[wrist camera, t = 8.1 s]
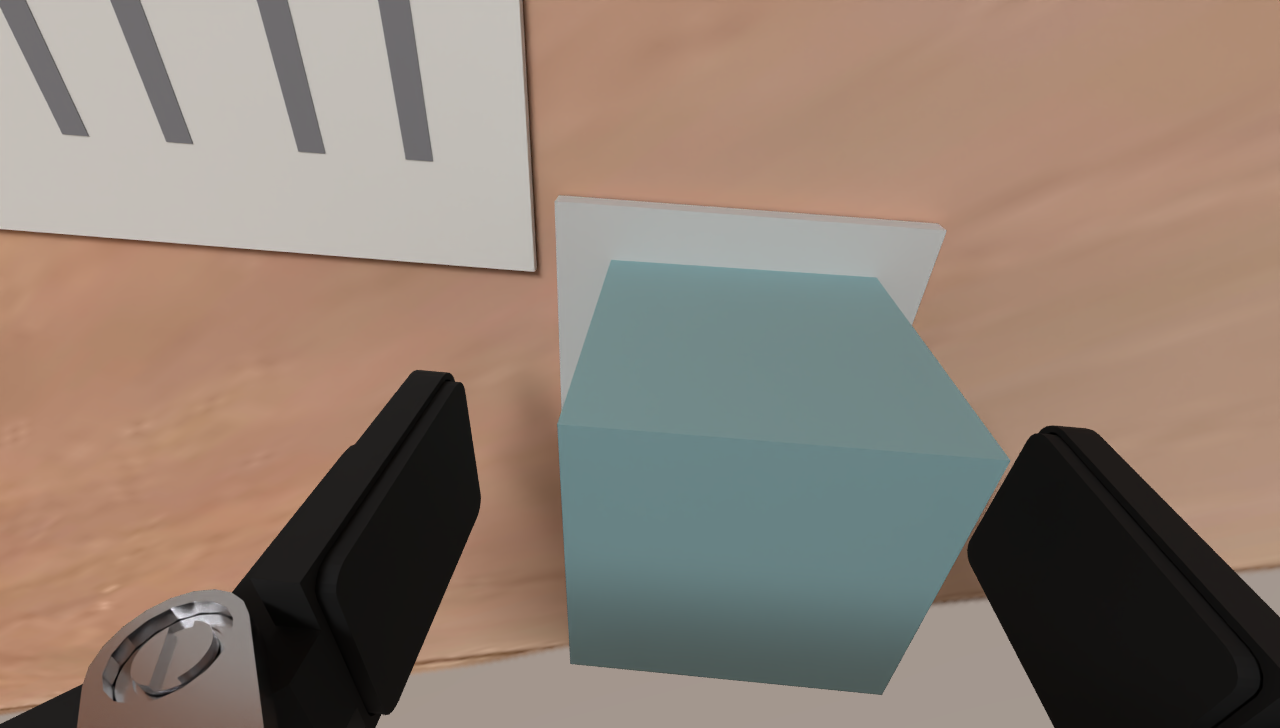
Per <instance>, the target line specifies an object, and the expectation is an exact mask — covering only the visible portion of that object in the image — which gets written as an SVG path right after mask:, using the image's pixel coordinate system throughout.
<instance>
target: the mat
mask: <svg viewBox="0 0 1280 728" xmlns="http://www.w3.org/2000/svg"><path fill="white" fill-rule="evenodd" d="M555 225H556V256H557V286H558V317H559V348H560V378H561V409H562V408H563V405H564V402H565V399H566V396H567V393H568V390H569V387H570V384H571V381H572V378H573V375H574V372H575V369H576V366H577V363H578V359H579V356H580V353H581V350H582V347H583V344H584V341H585V338H586V335H587V332H588V329H589V326H590V323H591V320H592V317H593V314H594V311H595V307H596V304H597V301H598V298H599V295H600V292H601V289H602V286H603V283H604V280H605V277H606V274H607V271H608V268H609V265H610V262H611V260H621V261H636V262H651V263H666V264H681V265H697V266H712V267H727V268H742V269H757V270H772V271H787V272H802V273H817V274H832V275H847V276H862V277H877V279H878V280H879V281H880V283H881V284H882V286H883V287H884V288H885V290H886V291H887V292H888V294H889V295H890V296H891V298H892V299H893V301H894V302H895V303H896V305H897V306H898V307H899V309H900V310H901V312H902V313H903V314H904V316H905V317H906V318H907V320H908V321H909V323H910V324H911V325H912V324H913V321H914V318H915V315H916V313H917V310H918V307H919V305H920V302H921V299H922V296H923V294H924V291H925V288H926V286H927V283H928V280H929V277H930V275H931V272H932V269H933V267H934V264H935V261H936V258H937V256H938V253H939V250H940V248H941V245H942V242H943V239H944V237H945V234H946V230H945V229H944V228H943V227H942V226H940V225H939V224H937V223H924V222H910V221H897V220H884V219H870V218H857V217H844V216H830V215H817V214H803V213H790V212H777V211H763V210H750V209H737V208H723V207H710V206H697V205H683V204H670V203H656V202H643V201H630V200H616V199H603V198H590V197H576V196H563V195H559V196H558V197H557V199H556V200H555Z"/></svg>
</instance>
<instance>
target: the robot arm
mask: <svg viewBox="0 0 1280 728" xmlns="http://www.w3.org/2000/svg"><path fill="white" fill-rule="evenodd" d="M480 503H481V494H480V487H479V481H478V474H477V467H476V461H475V454H474V447H473V441H472V434H471V427H470V421H469V414H468V407H467V401H466V394H465V389H464V386H463V384H462V383H461V382H455V380H454V377H453V376H452V374H450V373H446V372H435V371H423V370H416V371H413V372H412V373H411V374H410V375H409V377H408V378H407V379H406V380H405V382H404V383H403V384H402V385H401V387H400V388H399V389H398V391H397V392H396V393H395V394H394V396H393V397H392V398H391V399H390V401H389V402H388V403H387V404H386V406H385V407H384V408H383V410H382V411H381V412H380V413H379V415H378V416H377V417H376V418H375V420H374V421H373V422H372V423H371V425H370V426H369V427H368V429H367V430H366V431H365V432H364V434H363V435H362V436H361V437H360V439H359V440H358V441H357V442H356V444H355V445H352V446H350V447H349V448H348V449H347V450H346V451H345V452H344V453H343V454H342V456H341V457H340V458H339V459H338V461H337V462H336V463H335V464H334V466H333V467H332V468H331V469H330V471H329V472H328V473H327V474H326V476H325V477H324V478H323V479H322V481H321V482H320V483H319V484H318V486H317V487H316V488H315V489H314V491H313V492H312V493H311V494H310V496H309V497H308V498H307V499H306V501H305V502H304V503H303V504H302V506H301V507H300V508H299V509H298V511H297V512H296V513H295V514H294V516H293V517H292V518H291V519H290V521H289V522H288V523H287V524H286V526H285V527H284V528H283V529H282V531H281V532H280V533H279V534H278V536H277V537H276V538H275V539H274V541H273V542H272V543H271V544H270V546H269V547H268V548H267V549H266V551H265V552H264V553H263V554H262V556H261V557H260V558H259V559H258V561H257V562H256V563H255V564H254V566H253V567H252V568H251V569H250V571H249V572H248V573H247V574H246V576H245V577H244V578H243V579H242V581H241V582H240V583H239V584H238V586H237V587H236V588H235V589H234V591H233V592H232V593H231V592H226V591H221V590H215V589H214V590H203V591H193V592H190V593H187V594H184V595H180V596H177V597H174V598H170V599H168V600H166V601H164V602H162V603H160V604H158V605H156V606H154V607H152V608H150V609H148V610H146V611H145V612H143V613H142V614H141V615H139V616H138V617H136V618H135V619H133V620H132V621H131V622H129V623H128V624H126V625H125V626H123V627H122V628H121V629H120V630H119V631H118V632H117V633H116V634H115V635H114V636H113V637H112V638H111V639H110V640H109V641H108V642H107V643H106V644H105V645H104V646H103V647H102V648H101V650H100V651H99V653H98V654H97V656H96V657H95V659H94V660H93V661H92V663H91V664H90V666H89V667H88V670H87V673H86V676H85V679H84V682H83V684H82V685H80V686H78V687H76V688H74V689H71V690H69V691H67V692H65V693H63V694H61V695H59V696H57V697H55V698H53V699H51V700H49V701H47V702H45V703H43V704H41V705H39V706H37V707H34V708H32V709H30V710H28V711H26V712H24V713H22V714H20V715H18V716H16V717H14V718H12V719H10V720H8V721H6V722H4V723H2V724H0V728H375V727H376V725H377V723H378V720H379V718H380V716H381V714H383V715H388V714H390V713H391V712H392V711H393V710H394V708H395V707H396V705H397V703H398V701H399V699H400V696H401V694H402V692H403V689H404V687H405V685H406V682H407V680H408V678H409V675H410V673H411V671H412V668H413V666H414V664H415V661H416V659H417V657H418V654H419V652H420V650H421V647H422V645H423V643H424V640H425V638H426V636H427V633H428V631H429V629H430V626H431V624H432V622H433V619H434V617H435V615H436V612H437V610H438V607H439V605H440V603H441V600H442V598H443V596H444V593H445V591H446V589H447V586H448V584H449V582H450V579H451V577H452V575H453V572H454V570H455V568H456V565H457V563H458V561H459V558H460V556H461V554H462V551H463V549H464V547H465V544H466V542H467V540H468V537H469V535H470V533H471V530H472V528H473V526H474V523H475V521H476V519H477V516H478V513H479V509H480ZM967 551H968V559H969V563H970V565H971V567H972V569H973V571H974V573H975V575H976V577H977V579H978V581H979V583H980V585H981V586H982V588H983V590H984V592H985V594H986V596H987V598H988V600H989V602H990V604H991V606H992V608H993V610H994V612H995V613H996V615H997V617H998V619H999V621H1000V623H1001V625H1002V627H1003V629H1004V631H1005V633H1006V634H1007V636H1008V639H1009V641H1010V643H1011V644H1012V646H1013V648H1014V650H1015V652H1016V654H1017V656H1018V658H1019V660H1020V662H1021V664H1022V666H1023V668H1024V670H1025V672H1026V673H1027V675H1028V677H1029V679H1030V681H1031V683H1032V685H1033V687H1034V689H1035V691H1036V693H1037V695H1038V697H1039V699H1040V700H1041V703H1042V704H1043V706H1044V708H1045V710H1046V712H1047V714H1048V716H1049V718H1050V720H1051V722H1052V724H1053V726H1054V728H1280V617H1279V616H1278V615H1277V614H1276V613H1275V612H1274V611H1273V610H1272V609H1271V608H1270V607H1269V606H1268V605H1267V604H1266V603H1265V602H1264V601H1263V600H1262V599H1261V598H1260V597H1259V596H1258V595H1257V594H1256V593H1255V592H1254V591H1253V590H1252V589H1251V588H1250V587H1249V586H1248V585H1247V584H1246V583H1245V582H1244V581H1243V580H1242V579H1241V578H1240V577H1239V576H1238V575H1237V574H1236V573H1235V572H1234V570H1233V569H1232V568H1231V567H1230V566H1229V565H1228V564H1227V563H1226V562H1225V561H1224V560H1223V559H1222V558H1221V557H1220V556H1219V555H1218V554H1217V553H1216V552H1215V551H1214V550H1213V549H1212V548H1211V547H1210V546H1209V545H1208V544H1207V543H1206V542H1205V541H1204V540H1203V539H1202V538H1201V537H1200V536H1199V535H1198V534H1197V533H1196V532H1195V531H1194V530H1193V529H1192V528H1191V527H1190V526H1189V525H1188V524H1187V523H1186V522H1185V521H1184V520H1183V519H1182V518H1181V517H1180V516H1179V515H1178V514H1177V513H1176V512H1175V511H1174V510H1173V509H1172V508H1171V507H1170V506H1169V505H1168V504H1167V503H1166V502H1165V501H1164V500H1163V499H1162V498H1161V497H1160V496H1159V495H1158V494H1157V493H1156V492H1155V491H1154V490H1153V489H1152V488H1151V487H1150V486H1149V485H1148V484H1147V483H1146V482H1145V481H1144V480H1143V479H1142V478H1141V477H1140V476H1139V475H1138V474H1137V473H1136V472H1135V471H1134V470H1133V469H1132V468H1131V467H1130V465H1129V464H1128V463H1127V462H1126V461H1125V460H1124V459H1123V458H1122V457H1121V456H1120V455H1119V454H1118V453H1117V452H1116V451H1115V450H1114V449H1113V448H1112V447H1111V446H1110V445H1109V444H1108V443H1107V442H1106V441H1105V440H1104V439H1103V438H1102V437H1101V436H1100V435H1099V434H1097V433H1096V432H1095V431H1093V430H1090V429H1086V428H1075V427H1063V426H1046V427H1045V428H1043V429H1042V430H1041V431H1040V432H1039V433H1038V434H1034V435H1032V436H1030V438H1029V439H1028V440H1027V442H1026V444H1025V445H1024V447H1023V449H1022V451H1021V452H1020V454H1019V456H1018V458H1017V459H1016V461H1015V463H1014V465H1013V466H1012V468H1011V470H1010V472H1009V473H1008V475H1007V477H1006V479H1005V480H1004V482H1003V484H1002V485H1001V487H1000V489H999V491H998V492H997V494H996V496H995V498H994V499H993V501H992V503H991V505H990V506H989V508H988V510H987V512H986V513H985V515H984V517H983V519H982V520H981V522H980V524H979V526H978V527H977V529H976V531H975V532H974V534H973V536H972V538H971V539H970V541H969V544H968V549H967Z"/></svg>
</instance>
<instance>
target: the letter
mask: <svg viewBox="0 0 1280 728" xmlns="http://www.w3.org/2000/svg"><path fill="white" fill-rule="evenodd" d="M0 229H7V230H19V231H32V232H44V233H56V234H69V235H81V236H94V237H106V238H119V239H131V240H144V241H156V242H169V243H181V244H194V245H206V246H219V247H231V248H244V249H256V250H269V251H281V252H294V253H306V254H319V255H331V256H344V257H356V258H368V259H381V260H393V261H406V262H418V263H431V264H443V265H456V266H468V267H481V268H493V269H506V270H518V271H531V272H535V270H536V269H537V261H536V242H535V224H534V205H533V186H532V168H531V149H530V131H529V112H528V94H527V75H526V57H525V38H524V20H523V1H522V0H0Z"/></svg>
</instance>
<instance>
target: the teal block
mask: <svg viewBox="0 0 1280 728" xmlns="http://www.w3.org/2000/svg"><path fill="white" fill-rule="evenodd" d="M557 427H558V446H559V464H560V482H561V500H562V518H563V537H564V555H565V573H566V591H567V610H568V628H569V646H570V663H571V664H577V665H587V666H598V667H607V668H618V669H627V670H628V669H629V670H637V671H648V672H658V673H668V674H678V675H688V676H698V677H708V678H718V679H728V680H738V681H748V682H759V683H768V684H778V685H788V686H798V687H808V688H819V689H828V690H838V691H848V692H858V693H868V694H869V693H870V694H878V695H882V693H883V692H884V690H885V688H886V686H887V685H888V683H889V681H890V679H891V677H892V675H893V673H894V672H895V670H896V668H897V666H898V664H899V663H900V661H901V659H902V657H903V655H904V653H905V651H906V650H907V648H908V646H909V644H910V643H911V641H912V639H913V637H914V635H915V633H916V632H917V630H918V628H919V626H920V624H921V622H922V621H923V619H924V617H925V615H926V613H927V611H928V610H929V608H930V606H931V604H932V603H933V601H934V599H935V597H936V595H937V593H938V592H939V590H940V588H941V586H942V584H943V582H944V581H945V579H946V577H947V575H948V573H949V572H950V570H951V568H952V566H953V564H954V562H955V561H956V559H957V557H958V555H959V553H960V551H961V550H962V548H963V546H964V544H965V542H966V541H967V539H968V537H969V535H970V533H971V531H972V530H973V528H974V526H975V524H976V522H977V521H978V519H979V517H980V515H981V513H982V511H983V510H984V508H985V506H986V504H987V502H988V500H989V499H990V497H991V495H992V493H993V491H994V490H995V488H996V486H997V484H998V482H999V480H1000V479H1001V477H1002V475H1003V473H1004V471H1005V469H1006V468H1007V466H1008V464H1009V462H1010V459H1009V458H1008V457H1007V455H1006V454H1005V453H1004V451H1003V450H1002V448H1001V447H1000V446H999V444H998V443H997V442H996V440H995V439H994V437H993V436H992V435H991V433H990V432H989V431H988V429H987V428H986V427H985V425H984V424H983V422H982V421H981V420H980V418H979V417H978V416H977V414H976V413H975V411H974V410H973V409H972V407H971V406H970V405H969V403H968V402H967V401H966V399H965V398H964V396H963V395H962V394H961V392H960V391H959V390H958V388H957V387H956V385H955V384H954V383H953V381H952V380H951V379H950V377H949V376H948V375H947V373H946V372H945V370H944V369H943V368H942V366H941V365H940V364H939V362H938V361H937V359H936V358H935V357H934V355H933V354H932V353H931V351H930V350H929V349H928V347H927V346H926V344H925V343H924V342H923V340H922V339H921V338H920V336H919V335H918V333H917V332H916V331H915V329H914V328H913V327H912V325H911V324H910V323H909V321H908V320H907V318H906V317H905V316H904V314H903V313H902V312H901V310H900V309H899V307H898V306H897V305H896V303H895V302H894V301H893V299H892V298H891V296H890V295H889V294H888V292H887V291H886V290H885V288H884V287H883V286H882V284H881V283H880V281H879V280H878V279H877V277H862V276H847V275H832V274H817V273H802V272H787V271H772V270H757V269H742V268H727V267H712V266H697V265H681V264H666V263H651V262H636V261H621V260H611V262H610V265H609V268H608V271H607V274H606V277H605V280H604V283H603V286H602V289H601V292H600V295H599V298H598V301H597V304H596V307H595V311H594V314H593V317H592V320H591V323H590V326H589V329H588V332H587V335H586V338H585V341H584V344H583V347H582V350H581V353H580V356H579V359H578V363H577V366H576V369H575V372H574V375H573V378H572V381H571V384H570V387H569V390H568V393H567V396H566V399H565V402H564V405H563V408H562V411H561V415H560V418H559V421H558V424H557Z"/></svg>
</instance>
